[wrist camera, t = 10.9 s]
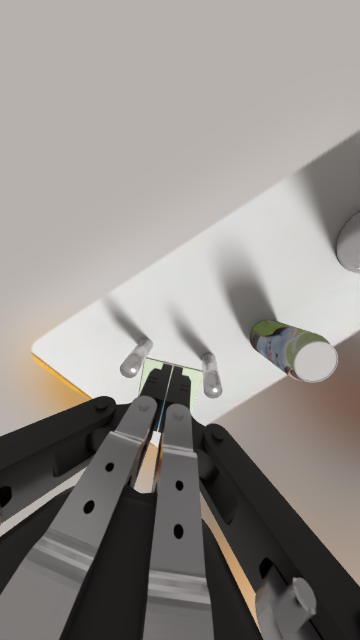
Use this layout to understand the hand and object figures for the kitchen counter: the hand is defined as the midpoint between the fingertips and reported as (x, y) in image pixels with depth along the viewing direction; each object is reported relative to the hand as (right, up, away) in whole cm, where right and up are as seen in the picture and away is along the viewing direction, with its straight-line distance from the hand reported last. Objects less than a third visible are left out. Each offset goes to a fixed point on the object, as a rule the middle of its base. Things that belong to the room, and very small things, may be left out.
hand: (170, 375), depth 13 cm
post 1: (-6, -1, +21) cm, 22 cm away
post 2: (+6, -4, +20) cm, 22 cm away
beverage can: (+16, +2, +18) cm, 24 cm away
